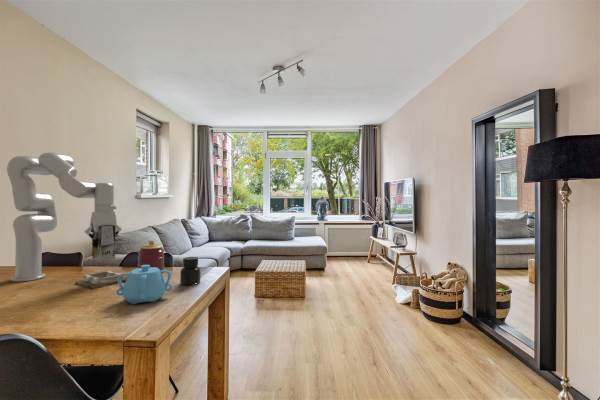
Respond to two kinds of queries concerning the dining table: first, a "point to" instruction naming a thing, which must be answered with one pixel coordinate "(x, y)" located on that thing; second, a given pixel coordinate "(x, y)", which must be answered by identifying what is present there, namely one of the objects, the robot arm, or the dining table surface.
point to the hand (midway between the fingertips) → (103, 246)
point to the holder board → (100, 279)
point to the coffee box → (105, 244)
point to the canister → (151, 255)
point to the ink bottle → (190, 271)
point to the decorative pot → (144, 285)
